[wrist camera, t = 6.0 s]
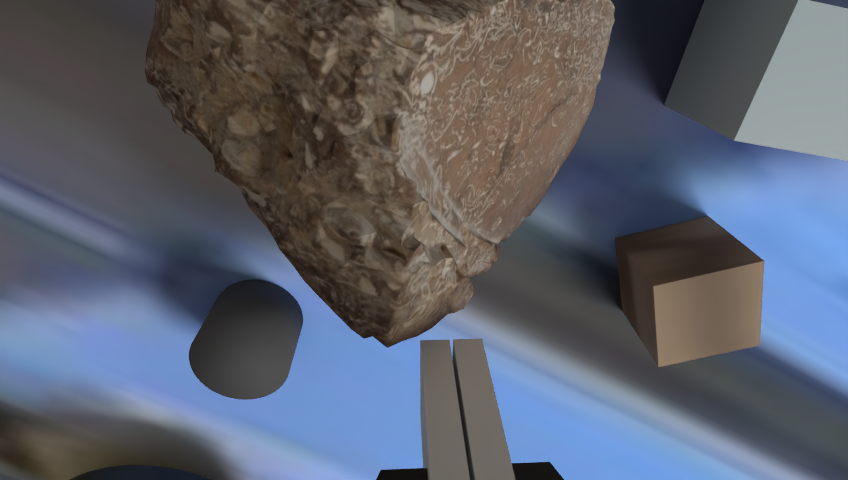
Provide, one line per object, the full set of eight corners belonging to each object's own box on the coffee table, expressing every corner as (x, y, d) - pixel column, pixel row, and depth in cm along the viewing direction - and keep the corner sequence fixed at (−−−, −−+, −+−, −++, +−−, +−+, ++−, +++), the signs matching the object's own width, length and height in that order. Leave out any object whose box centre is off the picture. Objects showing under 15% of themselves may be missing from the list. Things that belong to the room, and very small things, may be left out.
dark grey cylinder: (222, 351, 31) (199, 400, 27) (207, 279, 29) (179, 323, 25) (307, 349, 31) (294, 398, 28) (298, 278, 29) (283, 321, 25)
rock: (374, 441, 12) (539, 16, 6) (79, 236, 15) (-4, -212, 9) (566, 176, 26) (676, -39, 20) (395, 92, 28) (448, -122, 22)
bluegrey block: (663, 105, 25) (734, 140, 20) (706, -8, 23) (799, -2, 18) (757, 122, 26) (850, 161, 20) (808, 14, 23) (927, 26, 18)
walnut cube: (621, 310, 31) (658, 367, 26) (614, 237, 28) (653, 286, 24) (707, 290, 30) (759, 345, 26) (707, 215, 28) (764, 261, 24)
